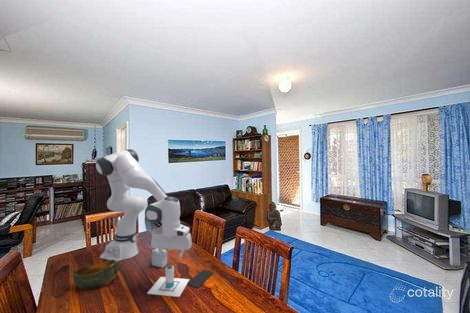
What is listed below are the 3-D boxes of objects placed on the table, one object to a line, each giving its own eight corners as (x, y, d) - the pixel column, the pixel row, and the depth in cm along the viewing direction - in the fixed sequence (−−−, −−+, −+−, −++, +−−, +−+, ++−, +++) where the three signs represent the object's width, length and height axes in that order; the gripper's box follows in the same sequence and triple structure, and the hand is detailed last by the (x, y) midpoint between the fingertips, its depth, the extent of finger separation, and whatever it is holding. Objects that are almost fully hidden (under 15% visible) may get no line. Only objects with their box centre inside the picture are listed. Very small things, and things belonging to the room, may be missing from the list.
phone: (214, 272, 112) (198, 287, 98) (214, 273, 112) (198, 289, 98) (203, 269, 115) (186, 283, 102) (203, 270, 115) (186, 285, 102)
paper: (147, 293, 95) (147, 292, 95) (160, 277, 108) (160, 276, 108) (179, 296, 92) (179, 296, 92) (189, 279, 105) (189, 279, 105)
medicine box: (167, 264, 121) (167, 249, 121) (162, 268, 116) (162, 253, 116) (156, 261, 123) (156, 247, 123) (151, 265, 119) (151, 251, 119)
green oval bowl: (104, 294, 94) (104, 273, 94) (68, 290, 97) (68, 269, 97) (124, 278, 106) (124, 259, 107) (92, 274, 110) (92, 256, 110)
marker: (163, 287, 98) (163, 268, 98) (167, 282, 102) (167, 264, 102) (171, 288, 98) (171, 269, 98) (175, 283, 102) (175, 264, 102)
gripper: (148, 231, 99) (148, 258, 99) (188, 232, 97) (188, 261, 97) (154, 226, 105) (155, 252, 105) (192, 228, 103) (192, 254, 103)
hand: (171, 256), depth 101 cm, fingers open, 8 cm apart
